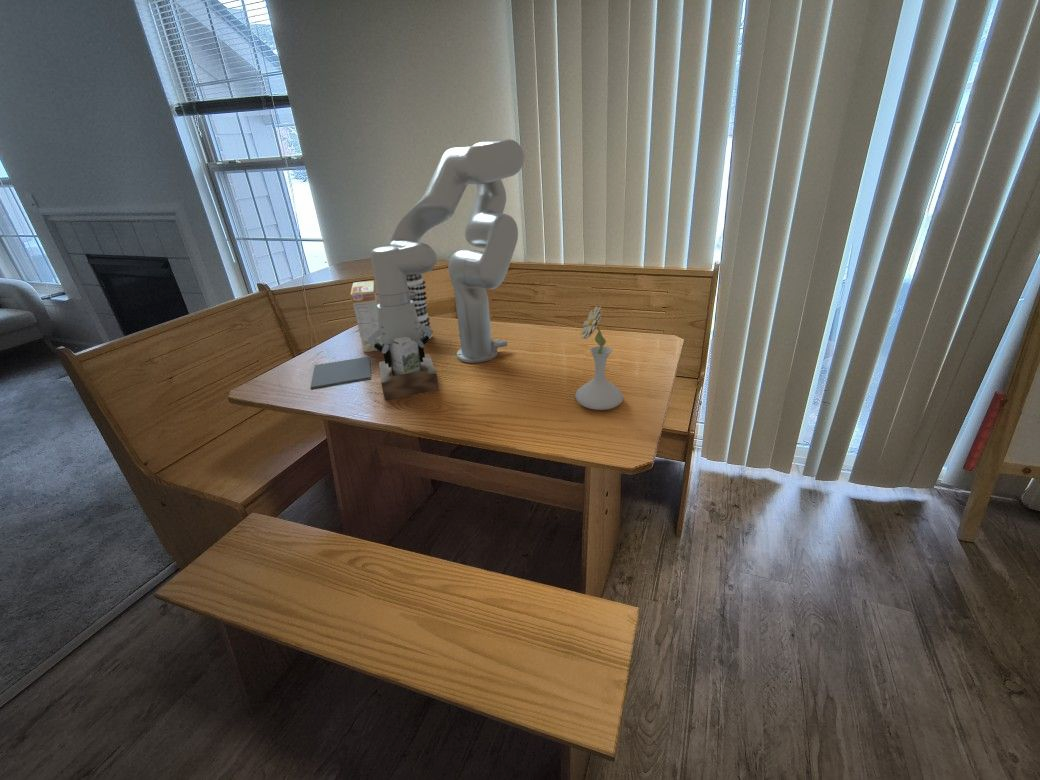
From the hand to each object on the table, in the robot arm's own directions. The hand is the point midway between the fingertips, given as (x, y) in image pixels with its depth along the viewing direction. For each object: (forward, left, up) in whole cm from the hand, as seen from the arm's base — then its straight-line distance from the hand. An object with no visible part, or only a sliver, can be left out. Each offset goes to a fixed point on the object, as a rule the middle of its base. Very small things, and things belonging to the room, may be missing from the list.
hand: (405, 362), depth 120 cm
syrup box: (0, 0, -7) cm, 7 cm away
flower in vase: (-42, +30, -7) cm, 52 cm away
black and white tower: (-7, -35, -7) cm, 36 cm away
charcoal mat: (+18, -16, -7) cm, 25 cm away
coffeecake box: (+8, -37, -7) cm, 39 cm away
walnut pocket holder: (0, 0, -7) cm, 7 cm away
